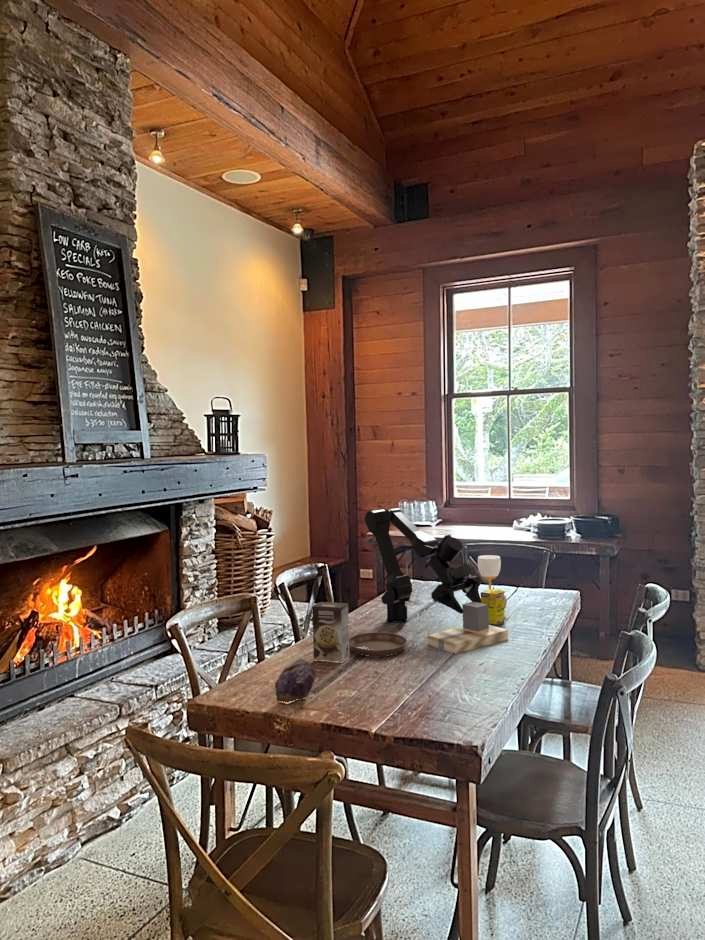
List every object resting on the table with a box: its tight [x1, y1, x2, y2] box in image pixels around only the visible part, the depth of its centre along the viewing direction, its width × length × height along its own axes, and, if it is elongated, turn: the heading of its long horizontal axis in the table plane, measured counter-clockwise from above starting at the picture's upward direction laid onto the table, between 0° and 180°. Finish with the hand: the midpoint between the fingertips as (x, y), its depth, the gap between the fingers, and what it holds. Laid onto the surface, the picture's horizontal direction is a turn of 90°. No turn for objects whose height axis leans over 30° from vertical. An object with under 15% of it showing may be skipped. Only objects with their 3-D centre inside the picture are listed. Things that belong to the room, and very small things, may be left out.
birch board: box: [427, 625, 509, 655], centre depth 221 cm, size 22×12×3 cm, turn 125°
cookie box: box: [311, 601, 350, 662], centre depth 208 cm, size 9×6×16 cm
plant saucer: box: [349, 631, 408, 657], centre depth 217 cm, size 18×18×3 cm
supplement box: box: [480, 588, 505, 627], centre depth 241 cm, size 6×6×11 cm
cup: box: [477, 554, 502, 589], centre depth 276 cm, size 9×9×16 cm
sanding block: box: [461, 601, 489, 634], centre depth 223 cm, size 6×5×8 cm
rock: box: [274, 658, 317, 702], centre depth 179 cm, size 12×9×10 cm
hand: (472, 610), depth 224 cm, fingers open, 9 cm apart
